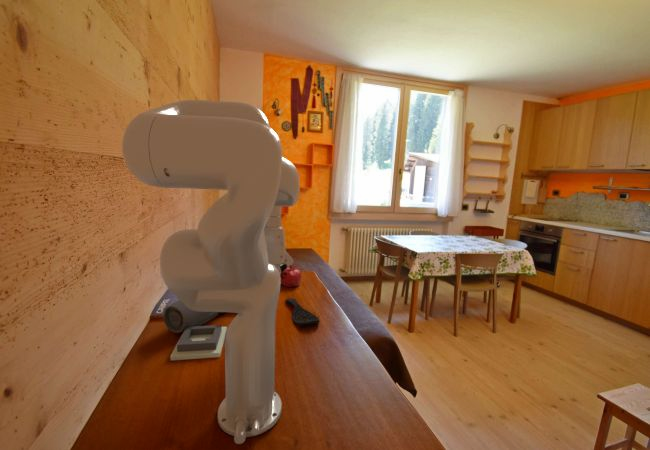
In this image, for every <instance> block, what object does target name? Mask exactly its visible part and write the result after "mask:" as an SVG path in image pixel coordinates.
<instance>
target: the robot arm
mask: <svg viewBox="0 0 650 450" xmlns="http://www.w3.org/2000/svg"><path fill="white" fill-rule="evenodd" d="M278 135H279V134H277V133H276V132H275V131H274V130H273V128H272V127H271V126H270V123H269V121H268V118H267V116H266V115H265V113H264V112H263V111H262V110H261V109H259V108H258V107H256V106H255V105H252V104H251V103H250V104H249V103H245V102H240V101H239V102H237V101H224V100H223V101H222V100H206V99H205V100H203V99H184V100H178V101H174V102H171V103H167V104H165V105H162V106H158V107H155V108H153V109H150V110H149V109H148V110H146V111H143V112H141V113H139V114H137V115H136V116H135V117H133V119H131V121H130V122H129V123H128V125H127V126H126V128H125V130H124V134H123V138H122V143H121V144H122V145H121V146H122V149H121V151H122V156H123V160H124V163H125V165H126V166H127V168H128V170H129V172H130V173H131V174H132V175H133V177H134V178H136V179H137V180H138V181H139V182H141V183H143V184H146V185H148V186H151V187H155V188H156V187H157V188H166V189H190V190H191V189H193V190H217V191H218V190H221V191H222V190H223V191H227V193H225V194H224V195H222V196H221V197H220V198H219V199H217V200H216V201H215V202H214V203H213V204H212V205H211V206H210V207H209V208H208V209H207V210H206V211H205V212H204V214H203V215H202V216H201V218H200V219H199V222H198V224H197V228H196V229H195V228H193V229H192V228H191V229H190V228H188V229H182V230H181V229H180V230H177V231H175V232H174V233H171V235H169V236H168V238H167V239H166V240H165V242H164V244H163V245H162V248H161V251H160V256H159V270H160V274H161V279H162V280H163V283H164V284H165V286H166V287H167V289H168V290H169V291H170V292H171V293H172V294H173V295H174V296H175V297H176V298H177V299H178V301H179V300H180V301H181V302H182V303H183V304H184V305H185V306H186V307H187V308H188V309H190V310H193V311H197V312H218V313H231V314H232V313H233V314H236V316H235V317H234V318H233V319H232V320H231V322H230V323H229V324H228V326H227V330H226V333H225V340H224V367H225V368H224V370H225V371H224V372H225V380H224V381H225V398H223V400H222V401H221V403H220V404H219V406H218V408H217V409H218V410H217V423H218V425H219V427H220V429H221V430H223V432H224V433H227V434H228V435H229V436H232V437H233V441H234V443H235V444H237V445H241V444H243V443H244V442H245V441H246V439H247V438H249V437H256V436H258V435H261V434H263V433H265V432H267V431H268V430H270V429H271V428H272V427H274V426H275V424H277V422H278V420H279V419H280V417H281V414H282V409H283V403H282V399H281V397H280V395H279V394H278V392H276V391H275V381H276V380H275V374H276V373H275V370H276V369H275V368H276V367H275V366H276V365H275V364H276V363H275V362H276V358H275V357H276V325H277V324H276V320H277V312H278V310H277V309H278V302H279V298H280V292H281V285H282V284H281V278H280V274H281V273H282V272H283V271H284V270H285V269H286V268H287V267H288V268H290V265H291V264H292V265H293V264H294V259H293V258H292V256H291V255H290V254H289V253H288V252H287V250H286V236H285V235H286V234H285V229H284V226H282V207H293V206H294V205H296V204H297V202H298V200H299V197H300V193H301V192H300V190H301V189H300V188H301V185H300V184H301V183H300V182H301V181H300V174H299V172H298V169H297V167H296V166H295V164H294V163H292V161H290V160H288V159H287V158H285V157H283V149H282V142H281V139H280V137H279V136H278ZM274 265H275V266H274Z"/></svg>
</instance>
